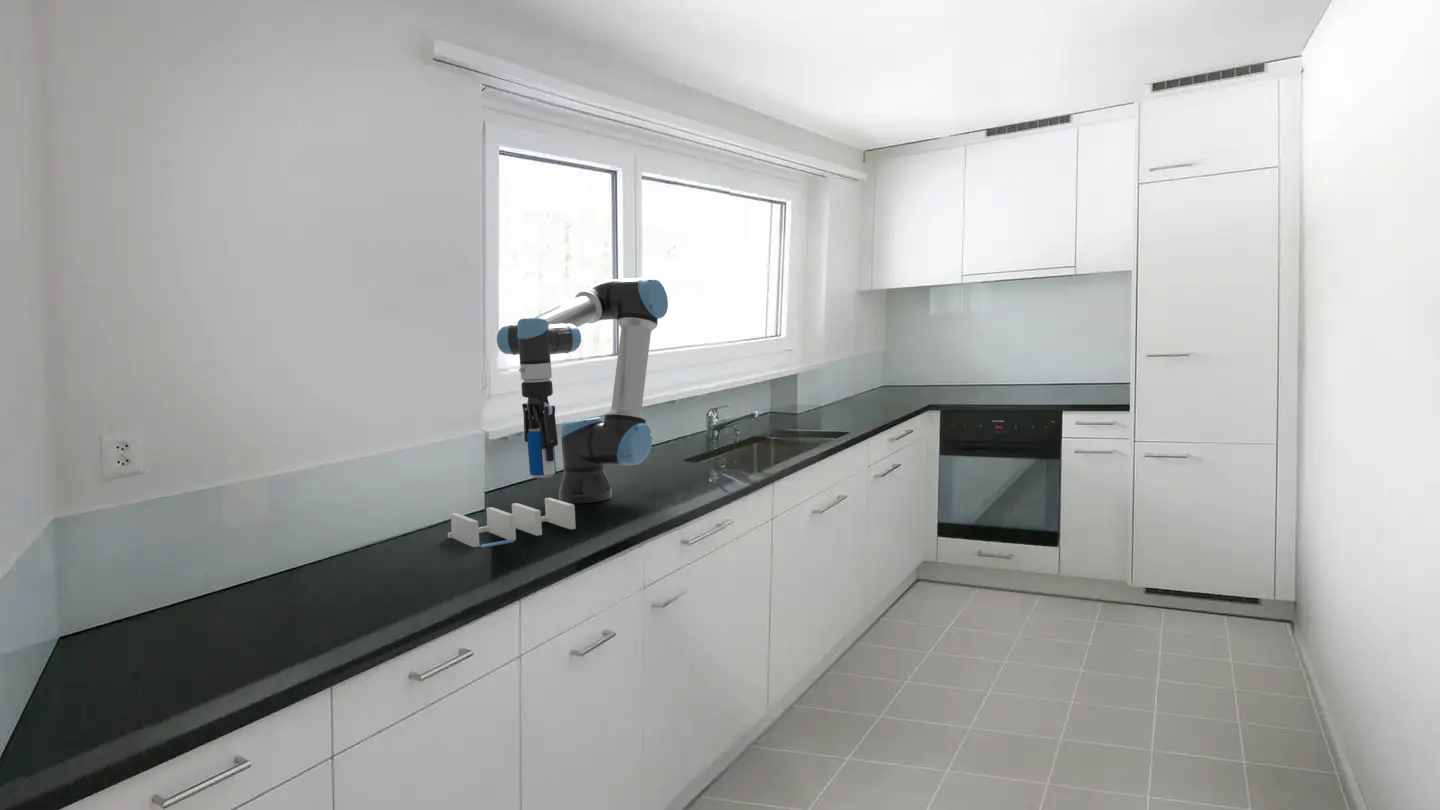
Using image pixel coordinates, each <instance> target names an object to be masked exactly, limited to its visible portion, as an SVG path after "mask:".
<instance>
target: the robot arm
mask: <svg viewBox="0 0 1440 810" xmlns="http://www.w3.org/2000/svg"><path fill="white" fill-rule="evenodd" d="M668 307H669V301H668V295H667V291H666V290H665V287H664V285H663V284H662V282H661V281H660V280H658V279H656V278H655V277H644V276H643V277H642V276H641V277H635V278H634V277H633V278H619V279H618V278H616V279H609V280H606V281H602V282H600V283H598V284H595V285H593V286H590V287H589V288H586V289H584V290H582V291H580V292H578V293H577V294H576V295H575V297H574V299H572V300H571V299H570V301H569V300H568V301H566V302H564V303H563V304H561V305H558V306H556V307H554V308H552V309H550V310H547V311H546V312H544V313H543V312H542V313H541V314H539V315H537V316H535V317H531V318H520V319H519V320H518V321H517V324H516V325H512V324H510V325H506V326H502V327H501V328H500V329H499V330H498V332H497V334H496V343H497V347H498V349H499V351H500V352H502V354H506V355H513V356H517V355H519V369H518V371H519V372H520V378H521V381H523V382H521V383H520V384H521V396H522V397H523V398H527V402H525V403H522V404H521V405H522V411H523V432H524V433H523V434H524V435H523V436H524V442H525V443H528V441H527V434H528V432H529V430H528V429H531V428H533V429H536V428H539V427H540V432H541V437H542V441H543V446H542V447H541V449H542V457H543V471H544V475H548V474H554V473H555V465H554V451H553V447H554V448H555V447H556V446H558V444H559V441H558V431H557V424H556V421H557V420H556V406H555V405H550V401H549V399H548V397H551V396H552V395H553V392H554V389H553V381H552V380H551V379H552V377H553V375H552V374H553V373H552V361H551V355H557V354H558V355H559V354H568V353H572V352H575V351H576V350H577V349H578V348H579V347H580V346H581V343H582V334H581V332H580V329H579V327H581V326H583V325H584V324H585V325H586V324H595V323H596V322H600V321H604V320H605V321H606V320H608V321H609V320H616V323H617V324H618V326H619V327H620V328H621V330H620V336H619V342H618V343H619V344H618V352H617V361H616V369H615V376H614V383H613V393H612V401H611V409H610V410H608V412H607V413H605V415H604V420H602V417H600V416H597V417H591V418H583V419H577V420H572V421H567V422H564V423H563V424H562V427H561V437H560V439H561V450H562V464H563V465H562V466H563V476H562V480H561V484H560V487H559V490H558V500H560V501H563V502H566V503H570V504H588V503H589V504H590V503H596V502H603V501H606V500H607V501H608V500H609V499H611V498H613V495H612V491H613V490H612V486H611V485H610V482H609V479H608V477H607V475H606V472H605V465H621V466H633V465H634V466H635V465H639V464H641V463H643V462H644V461H645V460H646V458H648V456H649V453H650V452H651V448H652V445H653V435H652V434H651V433H652V430H651V428H650V427H649V425H647V423H646V421H647V419H646V418H645V416H644V415H643V413H642V411H643V402H644V393H645V385H646V379H647V377H646V376H647V371H648V370H647V368H648V362H649V361H648V360H649V353H650V352H649V351H650V344H651V334H652V331H654V330H655V329H656V328H657V327H658V321H659V319H661V318H664V317H665V316H666V314H667V312H668ZM555 474H556V473H555ZM555 474H554V475H555Z"/></svg>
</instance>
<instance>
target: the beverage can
mask: <svg viewBox="0 0 1440 810" xmlns="http://www.w3.org/2000/svg"><path fill="white" fill-rule="evenodd" d="M528 430H529V432H528V434H527V441H528V442H527V452H528V454H527V455H528V465H529V466H528V468H529V476H531V477H533V479H534V478H535V479H543V478H545V479H547V478H551V477H554V475H555V474H556V473H557V467H556V452H555V447H553V451H554V465H555V473H554V474H548V475H544V471H543V457H542V449H541V447H542V446H543V441H542V437H541V432H540V427H539V428H536V429H533V428H531V429H528Z"/></svg>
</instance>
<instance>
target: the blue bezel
mask: <svg viewBox="0 0 1440 810" xmlns="http://www.w3.org/2000/svg"><path fill="white" fill-rule="evenodd" d="M511 543H515V540H512V539H510V540H507V539H505V540H500V541H499V540H498V541H495V542H489V543H483V544H480V546H479V548H481V549H484V548H489V547H494V546H500V545H506V544H511Z"/></svg>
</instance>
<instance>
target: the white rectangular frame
mask: <svg viewBox="0 0 1440 810" xmlns="http://www.w3.org/2000/svg"><path fill="white" fill-rule="evenodd" d="M544 506H545V508H544V509H545V515H543V516H542V514H541V513H542V511H541V510H540V509H537V508H534V507H531V506H527V505H525V504H523V503H522V504H521V503H518V502H515V503H511V513H510V512H507V511H505V510H501V509H499V508H496V507H492V506H490V507H486V508H485V509H486V510H485V511H486V525H485V526H480V527H479V520H476V519H474V518H471V517H468V516H467V515H463V514H461V513H457V512H453V513H452V512H451V513H450V524H451V525H450V526H451V532H447V538H448V539H453V540H456V541H458V542H460V543H463V544H465V545H467V546H470V547H472V548H477V547H479V548H480V545H481V544H480V535H479V534H481V533H487V532H488V533H490V534H491V535H492V534H493V535H495V536H497V537H500V538H503V539H505V540H510V539H512V540H514V541H516V540H517V533H516V532H517V530H520V531H522V532H525V533H527V534H531V535H533V536H537V537H538V536H542V535H543V529H542V523H544V522H548V523H550V524H553V525H556V526H558V527H563V528H565V529H568V530H575V529H576V527H577V526H576V510H575V509H576V508H575V504H574V503H566V502H563V501H560V500H559V499H555V498H552V497H545V498H544Z"/></svg>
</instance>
